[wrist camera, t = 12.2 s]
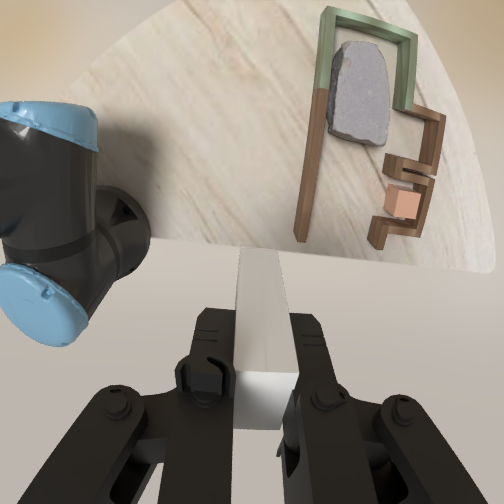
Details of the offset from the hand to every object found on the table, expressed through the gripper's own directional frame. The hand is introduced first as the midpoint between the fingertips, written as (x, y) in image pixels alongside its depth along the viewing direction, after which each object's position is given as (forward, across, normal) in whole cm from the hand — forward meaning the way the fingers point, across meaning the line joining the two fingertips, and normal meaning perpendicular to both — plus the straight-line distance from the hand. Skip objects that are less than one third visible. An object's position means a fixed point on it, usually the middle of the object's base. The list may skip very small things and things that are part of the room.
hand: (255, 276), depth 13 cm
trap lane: (+30, +17, +7) cm, 36 cm away
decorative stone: (+31, +12, +11) cm, 35 cm away
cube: (+31, +23, -2) cm, 38 cm away
